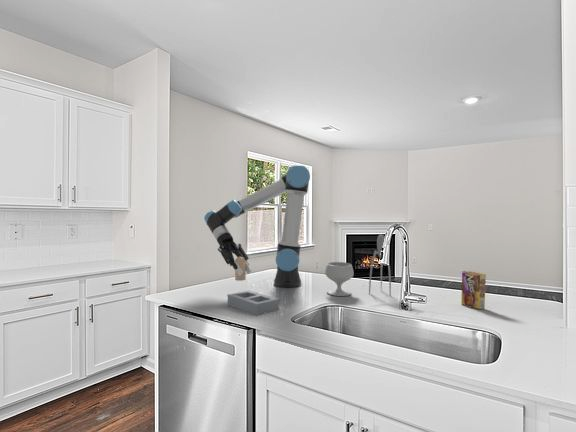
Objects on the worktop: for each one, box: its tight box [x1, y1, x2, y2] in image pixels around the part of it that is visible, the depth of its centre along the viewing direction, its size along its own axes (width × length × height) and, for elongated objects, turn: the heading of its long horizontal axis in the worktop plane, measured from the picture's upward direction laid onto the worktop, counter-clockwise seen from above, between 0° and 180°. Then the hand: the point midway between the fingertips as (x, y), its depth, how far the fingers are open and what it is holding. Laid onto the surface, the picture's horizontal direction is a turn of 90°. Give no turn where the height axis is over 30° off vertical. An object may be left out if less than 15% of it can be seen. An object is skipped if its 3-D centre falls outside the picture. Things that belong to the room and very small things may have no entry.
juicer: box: [368, 233, 392, 296], centre depth 178 cm, size 10×9×30 cm
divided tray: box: [227, 290, 280, 316], centre depth 153 cm, size 12×20×4 cm, turn 44°
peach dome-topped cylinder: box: [234, 257, 247, 282], centre depth 172 cm, size 5×5×11 cm
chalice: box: [324, 261, 355, 297], centre depth 178 cm, size 14×14×15 cm
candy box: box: [460, 270, 487, 309], centre depth 158 cm, size 9×4×15 cm, turn 26°
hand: (245, 273), depth 169 cm, fingers closed on peach dome-topped cylinder, 5 cm apart
